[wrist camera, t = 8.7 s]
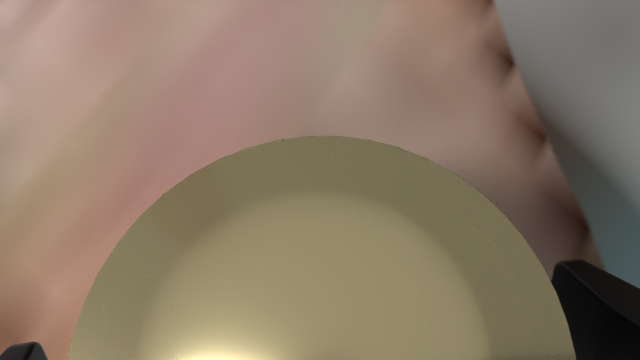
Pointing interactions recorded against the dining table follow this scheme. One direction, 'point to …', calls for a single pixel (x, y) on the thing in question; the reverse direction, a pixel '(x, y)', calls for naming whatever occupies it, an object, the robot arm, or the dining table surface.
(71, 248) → the dining table surface
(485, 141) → the dining table surface
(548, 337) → the grey tin
